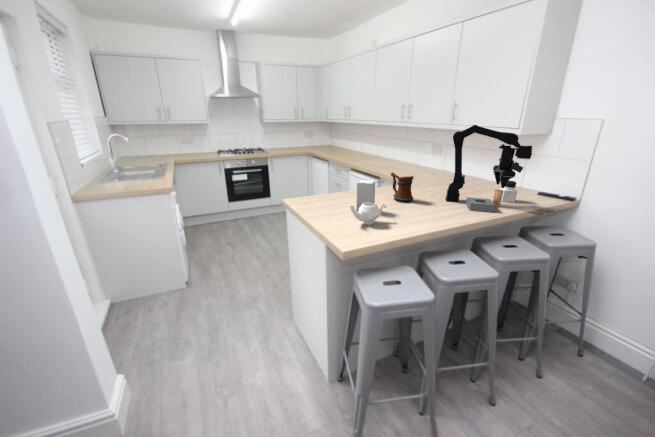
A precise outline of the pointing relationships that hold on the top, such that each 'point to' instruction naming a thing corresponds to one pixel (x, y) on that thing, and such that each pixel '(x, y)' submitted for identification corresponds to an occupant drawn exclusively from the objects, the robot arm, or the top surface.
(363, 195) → the skincare box
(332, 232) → the top surface
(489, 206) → the socket block
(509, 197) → the medicine bottle
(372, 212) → the teapot
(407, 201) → the mug
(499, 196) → the peg
